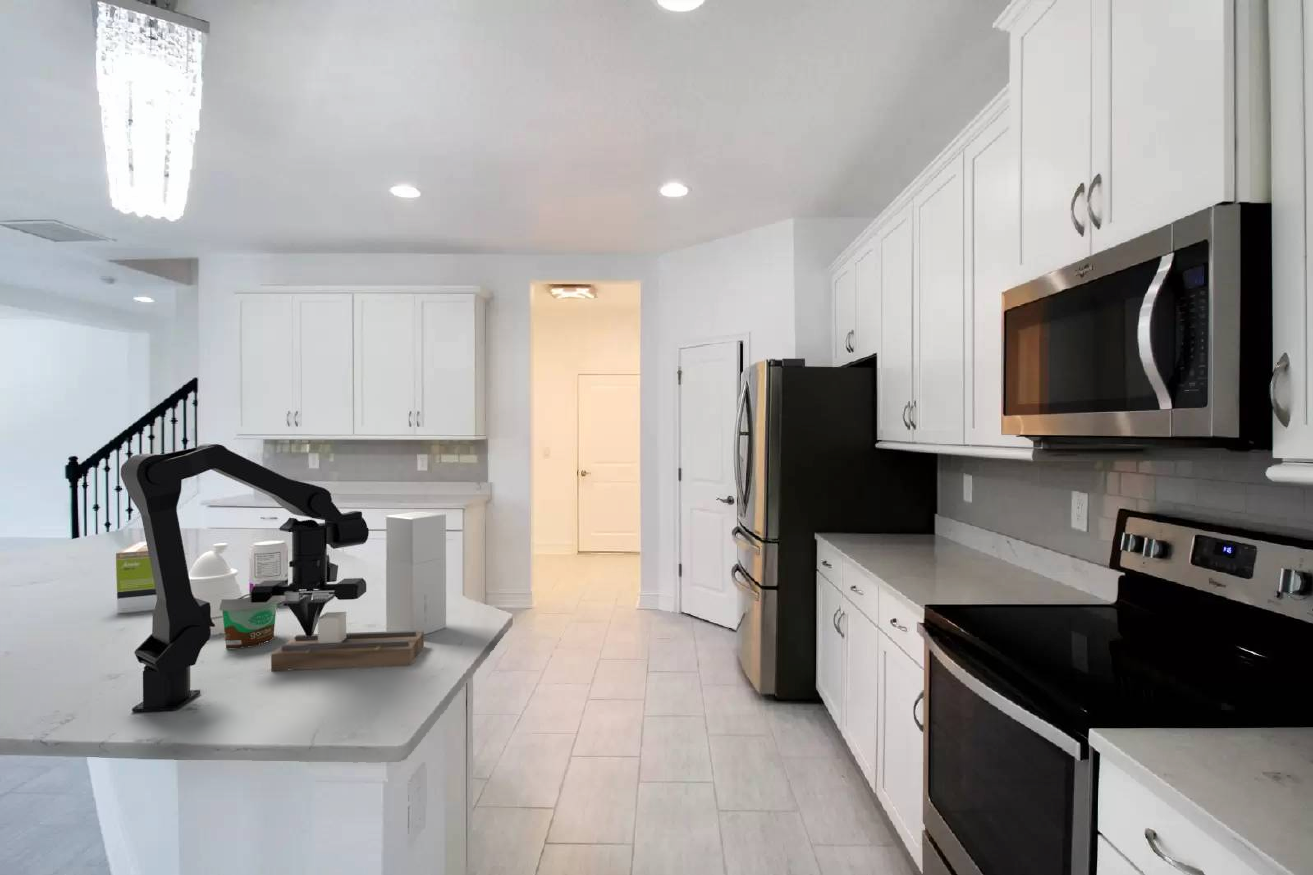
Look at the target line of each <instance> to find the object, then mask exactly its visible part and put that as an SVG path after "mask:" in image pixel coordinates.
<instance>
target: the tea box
mask: <svg viewBox="0 0 1313 875" xmlns="http://www.w3.org/2000/svg"><path fill="white" fill-rule="evenodd" d="M115 567H116V568H115V571H116V574H115V575H116V602H117V603H116V605H117V613H118V614H126V613H127V614H128V613H137V612H146V611H154V610H155V606H156V602H157V595H156V589H155V584H154V579H153V574H152V569H151V564H150V558H149V553H148V548H147V543H146V541H137V542H134V543H133V544H131V545H129V546H127V547H125V548H123V549H121V550H120V551H118V552H116V553H115Z"/></svg>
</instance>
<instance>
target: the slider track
mask: <svg viewBox="0 0 1313 875" xmlns="http://www.w3.org/2000/svg"><path fill="white" fill-rule="evenodd" d="M424 639H425V635H424V632H416V630H415V631H388V632H387V631H369V632H368V631H367V632H366V631H365V632H363V631H362V632H361V631H360V632H346V638H345V639H344V640H343V641H342V642H341V643H318V633H313V635H312V636H306V634H305V633H304V634H296V635H295V636H294V637H292V638H291V639H290V640H288V641H287V642H286V643H284V644H283V645H281V647H279V648H278V649H277V650H275V651H274V652H272V653H271V654H270V656H271V657H270V658H271V659H270V668H271V669H270V671H271V672H275V671H274V670H285V671H289V670H288V669H308V670H326V669H327V670H328V669H349V668H350V669H351V668H353V669H354V668H373V667H375V668H376V667H378V668H379V667H396V666H411V665H412V664H413V662H414V661H415V660H416V658H417V656H418V655H419V654H420V653H421V651H422V649H423V648H424V644H425V643H424V642H425V641H424Z"/></svg>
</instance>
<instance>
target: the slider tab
mask: <svg viewBox="0 0 1313 875" xmlns="http://www.w3.org/2000/svg"><path fill="white" fill-rule="evenodd" d="M346 633H347V611H332V612H331V611H330V612H329V611H328V612H325V613H324V614H322V615H320V617H319V618H318V622H317V634H318V643H341V642H342V641H343V640H344V639H345V638H346Z"/></svg>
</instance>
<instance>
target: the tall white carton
mask: <svg viewBox="0 0 1313 875" xmlns="http://www.w3.org/2000/svg"><path fill="white" fill-rule="evenodd" d="M385 521H386V522H385V523H386V525H385V526H386V528H385V530H386V531H385V536H386V537H385V538H386V539H385V544H386V545H385V547H386V550H385V551H386V552H385V554H386V556H385V557H386V559H385V566H386V567H385V594H386V595H385V596H386V598H385V599H386V600H385V606H386V607H385V610H386V611H385V615H386V616H385V618H386V621H385V623H386V624H385V627H386V628H385V629H386V630H385V632H388V631H415V630H416V632H424V636H425V635H428V634H432V633H434V632H437V631H440V630H443V629H446V628H447V549H446V548H447V515H446V514H445V513H439V512H430V511H427V512H426V511H413V512H407V513H406V512H405V513H399V514H397V513H396V514H390V515H389V514H388V515H386V517H385Z"/></svg>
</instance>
